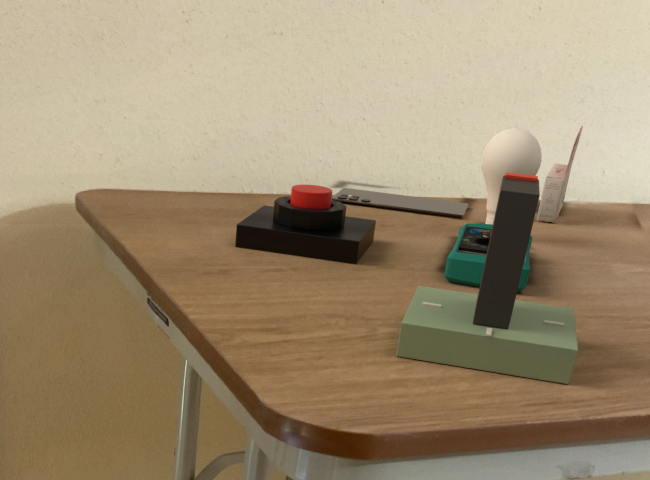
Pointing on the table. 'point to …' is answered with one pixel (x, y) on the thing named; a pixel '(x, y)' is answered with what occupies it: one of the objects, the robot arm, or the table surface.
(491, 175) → the lightbulb
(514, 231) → the switch lever
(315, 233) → the button box
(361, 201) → the smartphone
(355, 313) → the table surface
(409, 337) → the panel
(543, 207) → the ink cartridge box
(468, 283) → the digital multimeter
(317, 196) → the button
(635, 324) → the table surface
